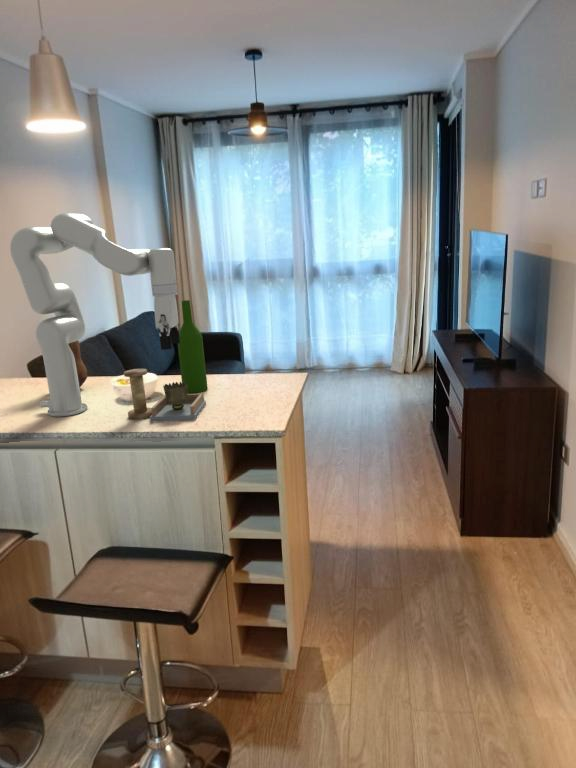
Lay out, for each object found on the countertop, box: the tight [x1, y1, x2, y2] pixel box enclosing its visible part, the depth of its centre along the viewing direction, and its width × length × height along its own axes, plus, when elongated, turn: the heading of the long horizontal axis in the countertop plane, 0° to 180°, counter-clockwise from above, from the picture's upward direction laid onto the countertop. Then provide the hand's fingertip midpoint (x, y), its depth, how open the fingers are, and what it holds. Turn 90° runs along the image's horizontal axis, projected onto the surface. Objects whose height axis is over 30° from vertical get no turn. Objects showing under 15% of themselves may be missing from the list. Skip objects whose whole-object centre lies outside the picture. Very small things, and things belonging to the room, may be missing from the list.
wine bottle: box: [177, 299, 208, 394], centre depth 211 cm, size 9×9×32 cm
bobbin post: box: [123, 368, 152, 421], centre depth 186 cm, size 8×8×14 cm
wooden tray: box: [149, 392, 207, 423], centre depth 187 cm, size 14×16×4 cm
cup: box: [162, 381, 187, 410], centre depth 186 cm, size 8×7×8 cm
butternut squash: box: [68, 340, 88, 389], centre depth 226 cm, size 14×13×25 cm
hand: (170, 346), depth 183 cm, fingers open, 9 cm apart
